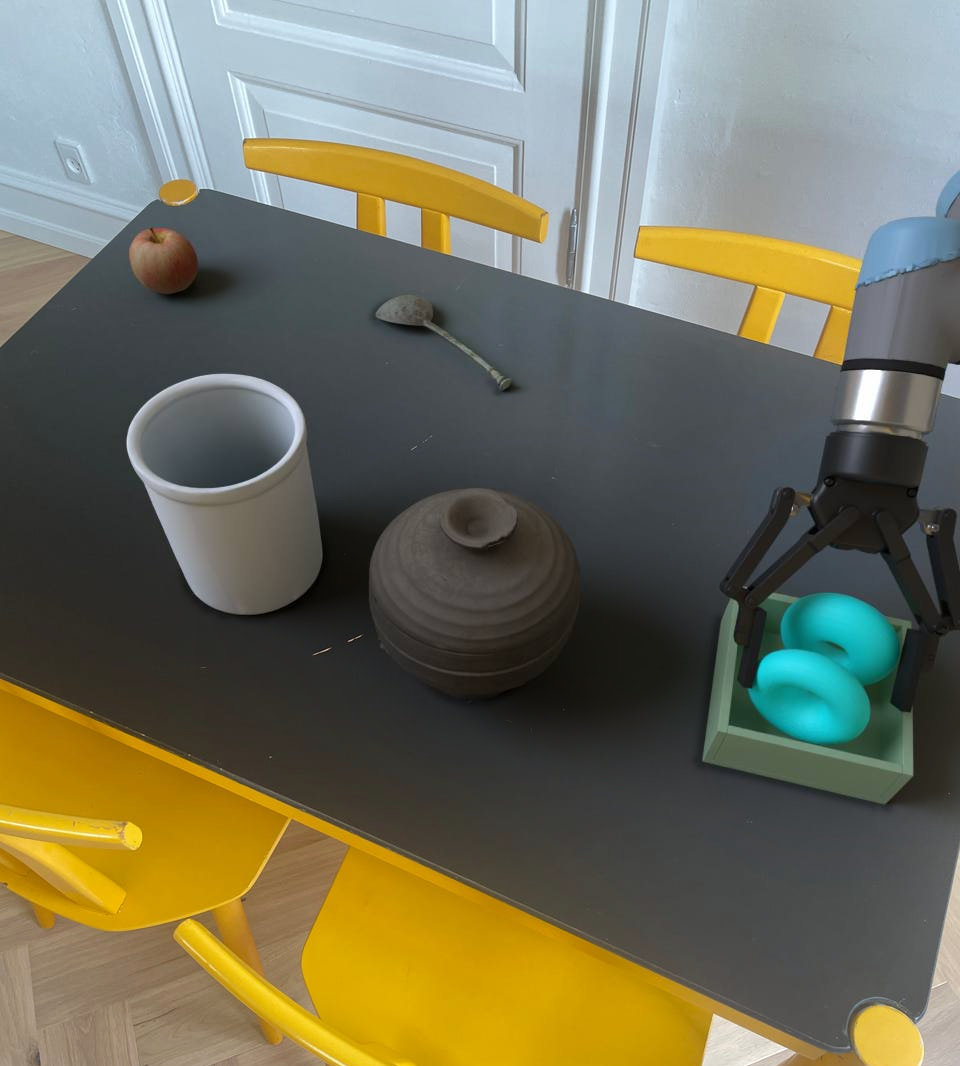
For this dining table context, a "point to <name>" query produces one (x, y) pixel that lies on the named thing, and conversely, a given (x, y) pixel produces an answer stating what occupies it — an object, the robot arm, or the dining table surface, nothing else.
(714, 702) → the bin
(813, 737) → the donuts
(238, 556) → the utensil holder
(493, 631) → the pot
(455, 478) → the dining table surface
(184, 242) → the apple
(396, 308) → the soupspoon
